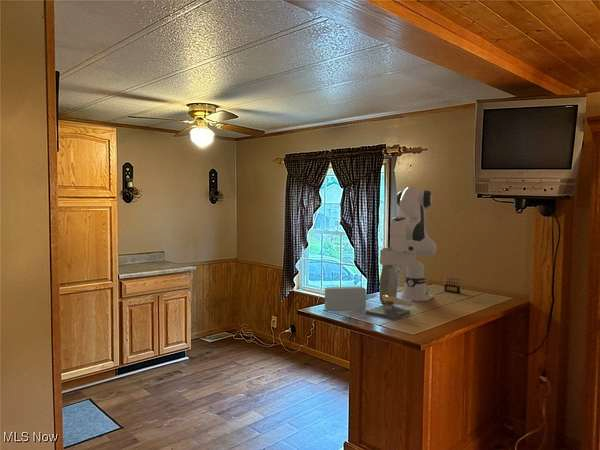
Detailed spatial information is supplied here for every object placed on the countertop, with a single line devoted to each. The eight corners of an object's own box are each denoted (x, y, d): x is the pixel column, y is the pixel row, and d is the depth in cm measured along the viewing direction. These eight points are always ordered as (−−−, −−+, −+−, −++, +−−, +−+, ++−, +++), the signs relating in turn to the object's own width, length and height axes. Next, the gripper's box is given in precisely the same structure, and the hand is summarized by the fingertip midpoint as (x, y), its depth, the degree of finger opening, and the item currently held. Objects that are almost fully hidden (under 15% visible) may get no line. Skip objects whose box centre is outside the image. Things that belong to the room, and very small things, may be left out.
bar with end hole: (327, 312, 254) (327, 289, 253) (324, 309, 260) (324, 287, 259) (366, 310, 258) (366, 288, 258) (362, 308, 264) (363, 286, 263)
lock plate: (382, 308, 264) (382, 298, 264) (410, 313, 252) (410, 303, 252) (365, 314, 250) (366, 303, 250) (394, 320, 239) (394, 309, 238)
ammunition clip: (444, 291, 314) (444, 274, 314) (445, 291, 316) (445, 274, 315) (459, 293, 308) (460, 276, 307) (460, 293, 309) (460, 275, 309)
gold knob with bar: (378, 303, 250) (379, 296, 250) (386, 300, 256) (387, 293, 256) (407, 308, 238) (407, 301, 238) (414, 305, 245) (415, 298, 245)
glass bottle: (396, 308, 265) (397, 261, 263) (378, 307, 267) (379, 260, 265) (396, 304, 275) (397, 259, 273) (379, 303, 277) (380, 258, 275)
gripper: (383, 248, 234) (382, 274, 235) (417, 247, 239) (417, 273, 240) (377, 247, 240) (377, 272, 241) (412, 246, 246) (411, 271, 247)
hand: (397, 272), depth 241 cm, fingers closed
